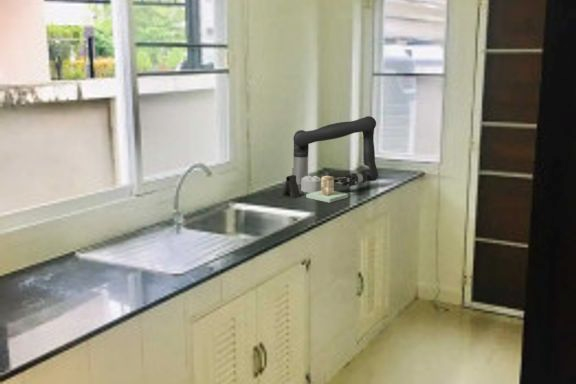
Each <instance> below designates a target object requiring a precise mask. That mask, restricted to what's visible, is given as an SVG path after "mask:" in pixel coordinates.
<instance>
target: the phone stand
mask: <svg viewBox="0 0 576 384" xmlns="http://www.w3.org/2000/svg"><path fill="white" fill-rule="evenodd" d="M298 186H299V185H298V184H297V182H296V176H295V175H292V174H291V175H288V176H286V177H285V183H284V187H283V190H282V193H281V197H285V198H290V197H291V198H290V199H296V198H299V197H301V193H300V189H299V187H298Z"/></svg>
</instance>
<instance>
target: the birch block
mask: <svg viewBox="0 0 576 384" xmlns="http://www.w3.org/2000/svg"><path fill="white" fill-rule="evenodd" d="M334 178H335V176H330V175H324V176H321V179H322V180H321V195H326V196H331V195H334V191H335V189H334V188H335V183H334Z"/></svg>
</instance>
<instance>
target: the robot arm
mask: <svg viewBox="0 0 576 384" xmlns="http://www.w3.org/2000/svg"><path fill="white" fill-rule="evenodd" d="M376 126H377V121H376V119H375V118H374V117H373V116H369V115H367V116H364V117H362V118H359V119H356V120H350V121H342V122H334V123H331V124H330V123H329V124H328V125H325V126H322V127H319V128H316V129H313V130H307V131H306V130H303V129H300V130H297V131H296V132H295V133H294V135H293V138H292V139H293V163H292V164H293V167H292V168H291V175H295V176H296V182H297V185H298V186H299V185H300V186H301V179H302V178H303V177H305V176H309V148H310V147H309V145H310V144H313V143H317V142H322V141H325V142H326V141H330V140H335V139H340V138H344V137H347V136H350V135H352V134H356V133H362V137H363V149H362V151H363V153H362V155H363V165H364V166H367V167H368V168H369V169H363V170H361V171H357V172H350V173H347V174H345V176H343V177H340V176H337V177H334V184H339V185H340V184H342V187H346V186H347V187H353V186H358V185H360V184H364V183H365V182H375V181H377V180H378V178H379V171H378V169H377V164H376V152H375V142H374V140H375V139H374V138H375V137H374V135H375V128H376Z"/></svg>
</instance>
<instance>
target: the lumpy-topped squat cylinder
mask: <svg viewBox="0 0 576 384" xmlns="http://www.w3.org/2000/svg"><path fill="white" fill-rule="evenodd" d="M321 180H322V177H320V176H318V175H313V176H312V175H308V176H305V177H303V178H302V179H301V185H300V187H301V188H300V190H301V191H302V192H304V193H307V194H309V193H313V192H317V191H321Z"/></svg>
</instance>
